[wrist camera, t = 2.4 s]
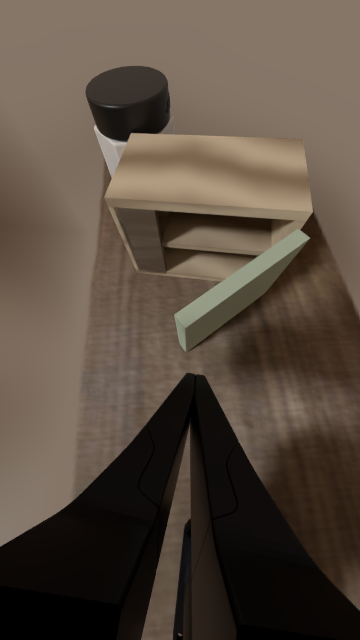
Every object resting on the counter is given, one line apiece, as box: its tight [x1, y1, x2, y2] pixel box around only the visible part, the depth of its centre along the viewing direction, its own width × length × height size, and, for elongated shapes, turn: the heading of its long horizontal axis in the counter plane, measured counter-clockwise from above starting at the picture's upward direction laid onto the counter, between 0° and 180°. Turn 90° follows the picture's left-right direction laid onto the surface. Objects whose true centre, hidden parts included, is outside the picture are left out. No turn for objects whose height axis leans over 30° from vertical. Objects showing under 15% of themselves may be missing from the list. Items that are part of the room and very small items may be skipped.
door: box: [174, 229, 310, 352], centre depth 17 cm, size 1×12×9 cm, turn 127°
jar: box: [86, 66, 175, 178], centre depth 23 cm, size 9×8×12 cm
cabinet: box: [104, 133, 313, 282], centre depth 20 cm, size 9×16×10 cm, turn 81°
